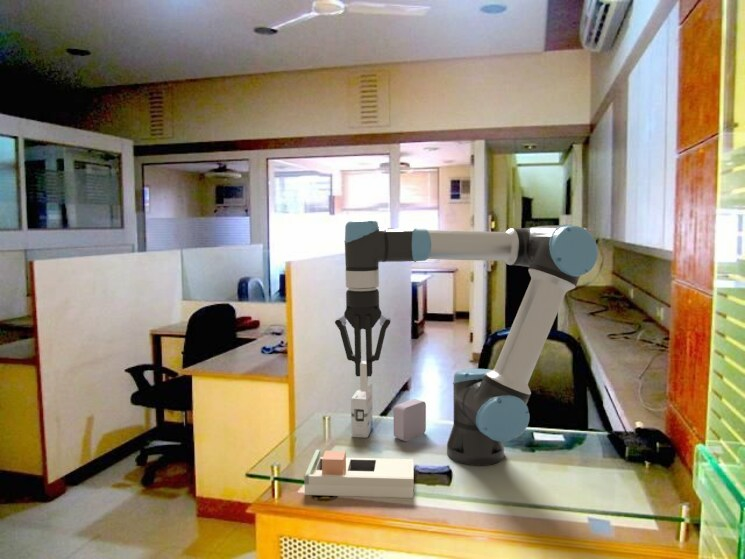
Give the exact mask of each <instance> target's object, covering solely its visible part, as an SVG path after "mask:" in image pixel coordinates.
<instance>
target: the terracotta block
mask: <svg viewBox="0 0 745 559" xmlns="http://www.w3.org/2000/svg"><path fill="white" fill-rule="evenodd" d="M322 457H323V458H322V475H345V473H346V458H347V451H346V450H324V453H323V455H322Z"/></svg>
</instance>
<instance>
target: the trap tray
mask: <svg viewBox="0 0 745 559" xmlns="http://www.w3.org/2000/svg"><path fill="white" fill-rule="evenodd" d="M322 458H323V456H321V449H315V451H314V454H313V456H312V458H311V460H310V463H309V465H308V467H307V470H306V471H305V473H304V476H303V479H304V496H334V497H336V496H337V497H364V498H365V497H369V498H398V499H399V498H401V499H402V498H403V499H405V498H406V499H414V492H413V489H414V480H415V479H414V477H415V476H414V473H415V471H414V470H415V469H414V467H415V465H414V464H415V462H414V458H378V457H376V458H374V457H369V458H368V457H346V473H345V475H322Z"/></svg>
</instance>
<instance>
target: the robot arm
mask: <svg viewBox="0 0 745 559" xmlns="http://www.w3.org/2000/svg"><path fill="white" fill-rule="evenodd" d="M596 242H597V241H596V240H595V238H594V236H593V234H592V233H591V231H590V232H589V231H588V230H587V229H585V227H582V226H578V225H573V224H562V225H561V224H560V225H559V224H558V225H539V226H532V227H531V226H530V227H523V228H521V227H519V228H507V230H506V231H485V230H483V231H480V230H478V231H477V230H450V229H449V230H448V229H447V230H446V229H444V230H443V229H427V228H416V227H414V228H394V227H393V228H392V227H391V228H390V227H388V228H386V229H385V228H380V227H379V224H378V221H377V220H349V221H348V222H347V223H346V224H345V229H344V253H345V254H344V257H345V259H344V260H345V271H344V272H345V287H346V288H347V290H346V292H345V301H346V302H345V306H346V307H345V310H344V314H343V315H342V316H340V317H338V318H337V319H335V321H334V323H335V326H336V327H337V328H338V330H339V333H340V337H341V340H342V344H343V348H344V352H345V355H346V359H347V361H351V362H353V363H354V366H355V368H354V369H355V373H354V374H355V377H359V378H360V379H359V380H360V382H359V384H360V387H359V388H360V389H359V390H361V392H367V390H368V385H369V381H368V380H369V377H372V375H373V362H376V361H379V360H380V358H381V357H380V356H381V353H382V349H383V343H384V339H385V336H386V332H387V329H388V328H389V326H390V324H391V322H392V320H391V318H390V317H386V316H384V314H382V310H381V307H380V291H379V289H378V288H379V287H380V285H379V284H380V275H379V271H380V270H379V266H380V265H379V263H386V262H387V263H389V262H390V263H391V262H392V263H394V262H397V263H399V262H401V263H402V262H414V263H416V262H421V261H422V262H423V261H427V260H447V261H453V260H454V261H482V262H483V261H492V262H505V264H507V265H509V266H521V267H527V268H528V274H529V276H530V278H531V279H530V281H529V284H528V285H527V286H528V287H527V289H526V291H525V294H524V296H523V298H522V301H521V303H520V305H519V308H518V310H517V313H516V314H515V315H516V316H515V318H514V320H513V323H512V324H511V328H510V329H509V333H508V334H507V337H506V338H505V339H506V340H505V342H504V344H503V346H502V350H501V351H500V353H499V356H498V357H497V358H498V359H497V360H496V363H495V365H494V368H493V369H489V368H486V369H485V368H467V369H466V368H465V369H460V370H457V371H455V373H454V376H453V382H452V385H453V424H452V425H453V426H452V429H451V431H450V434H449V437H448V440H447V443H446V454H447V456H448V457H449V458H450V459H451V460H453V461H455V462H458V463H460V464H465V465H471V466H490V465H495V464H497V463H499V462H501V461H502V460H503V459H504V456H505V446H504V444H503V442H510V441H512V440H514V439H515V440H516V439H517V438H518V437H520V436H521V435H522V434H523V433H524V432H525V431H526V429H527V427H528V425H529V423H530V419H531V418H530V412H529V407H528V405H527V404H528V402H529V399H530V397H531V394H532V391H531V389H530V387H529V382H530V380H531V377H532V375H533V372H534V370H535V368H536V365H537V362H538V360H539V358H540V356H541V353H542V351H543V348H544V346H545V344H546V341H547V338H548V337H549V334H550V332H551V329H552V327H553V325H554V322H555V320H556V317H557V315H558V313H559V310H560V307H561V306H562V303H563V301H564V298H565V296H566V294H567V292H568V291H571V290H574V289H576V286H577V284H578V283H579V280H580V277H581V276H583V275H586V274H588V273H589V272H590V271H592V270H593V268H595V266H596V264H597V260H598V257H599V256H598V255H599V249H598V248H599V247H598V244H597V243H596ZM378 321H380V322H379V325H380V326H381V327H380V331H379V335H378V339H377V344H376V348H375V353H374V354H373V328H374V327H375V326H376V324H377V323H378ZM347 322H348V323H349V324H350V326H351V327H352V328H353V334H354V351H353V348H352V344H351V340H350V337H349V332H348V329H347V327H346V325H347ZM362 330H365V359H366V360H362Z"/></svg>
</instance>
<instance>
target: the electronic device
mask: <svg viewBox="0 0 745 559" xmlns="http://www.w3.org/2000/svg"><path fill="white" fill-rule="evenodd" d="M426 411H427V404H426V402H425V401H423V400H419V399H416V398H413V399H410V400H407V401H403V402H402V403H399V404H396V405H394V407H393V437H395V439H398V440H401V441H403V442H408V441H412V440H413V439H415V438H418V437H420V436H422V435H424V434H425V432H426V429H427V423H426V422H427V412H426Z"/></svg>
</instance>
